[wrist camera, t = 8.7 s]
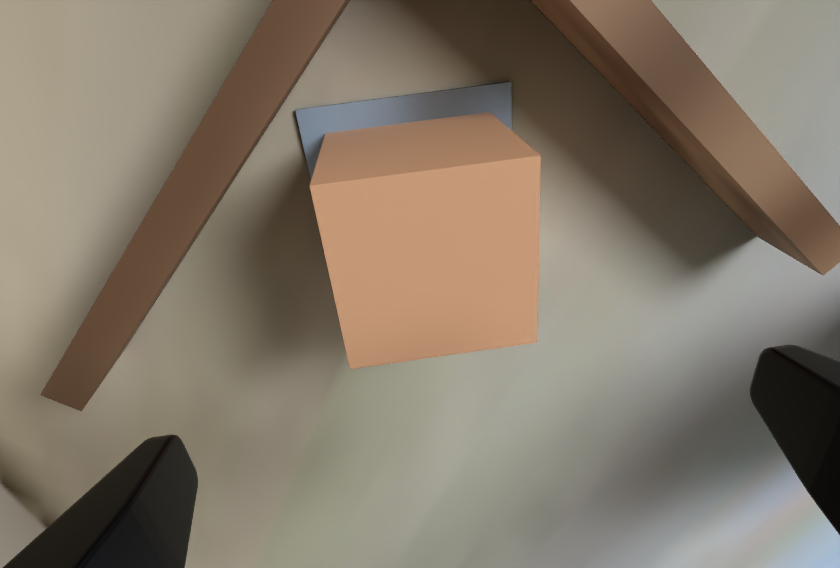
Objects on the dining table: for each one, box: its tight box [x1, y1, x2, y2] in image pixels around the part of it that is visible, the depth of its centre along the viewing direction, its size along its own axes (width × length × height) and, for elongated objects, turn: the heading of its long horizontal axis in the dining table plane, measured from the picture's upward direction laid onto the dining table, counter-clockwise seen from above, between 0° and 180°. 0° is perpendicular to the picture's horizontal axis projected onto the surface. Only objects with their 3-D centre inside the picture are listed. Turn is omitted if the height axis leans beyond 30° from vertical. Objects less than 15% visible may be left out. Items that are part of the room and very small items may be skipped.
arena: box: [41, 0, 840, 411], centre depth 16 cm, size 17×19×3 cm
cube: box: [310, 112, 541, 369], centre depth 14 cm, size 5×5×5 cm
